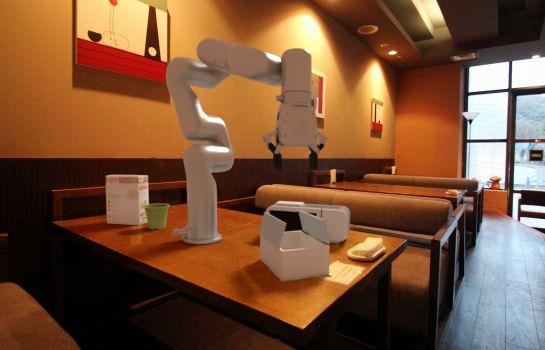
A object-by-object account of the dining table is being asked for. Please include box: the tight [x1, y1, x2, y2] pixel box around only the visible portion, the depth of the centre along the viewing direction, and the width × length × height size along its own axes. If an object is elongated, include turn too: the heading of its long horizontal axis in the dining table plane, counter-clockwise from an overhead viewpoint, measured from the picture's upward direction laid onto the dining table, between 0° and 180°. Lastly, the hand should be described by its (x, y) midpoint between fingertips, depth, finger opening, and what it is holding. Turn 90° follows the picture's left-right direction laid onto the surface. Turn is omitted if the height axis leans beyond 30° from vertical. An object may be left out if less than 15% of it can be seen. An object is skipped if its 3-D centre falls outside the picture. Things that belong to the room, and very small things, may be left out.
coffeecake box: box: [105, 174, 150, 226], centre depth 129 cm, size 15×7×20 cm, turn 77°
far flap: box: [298, 210, 331, 245], centre depth 82 cm, size 6×14×1 cm
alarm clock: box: [265, 200, 351, 244], centre depth 109 cm, size 27×9×12 cm, turn 71°
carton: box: [259, 231, 330, 283], centre depth 81 cm, size 12×16×7 cm
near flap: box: [258, 211, 286, 249], centre depth 79 cm, size 6×14×1 cm
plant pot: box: [143, 203, 171, 230], centre depth 121 cm, size 9×9×9 cm
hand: (295, 169), depth 81 cm, fingers open, 9 cm apart
